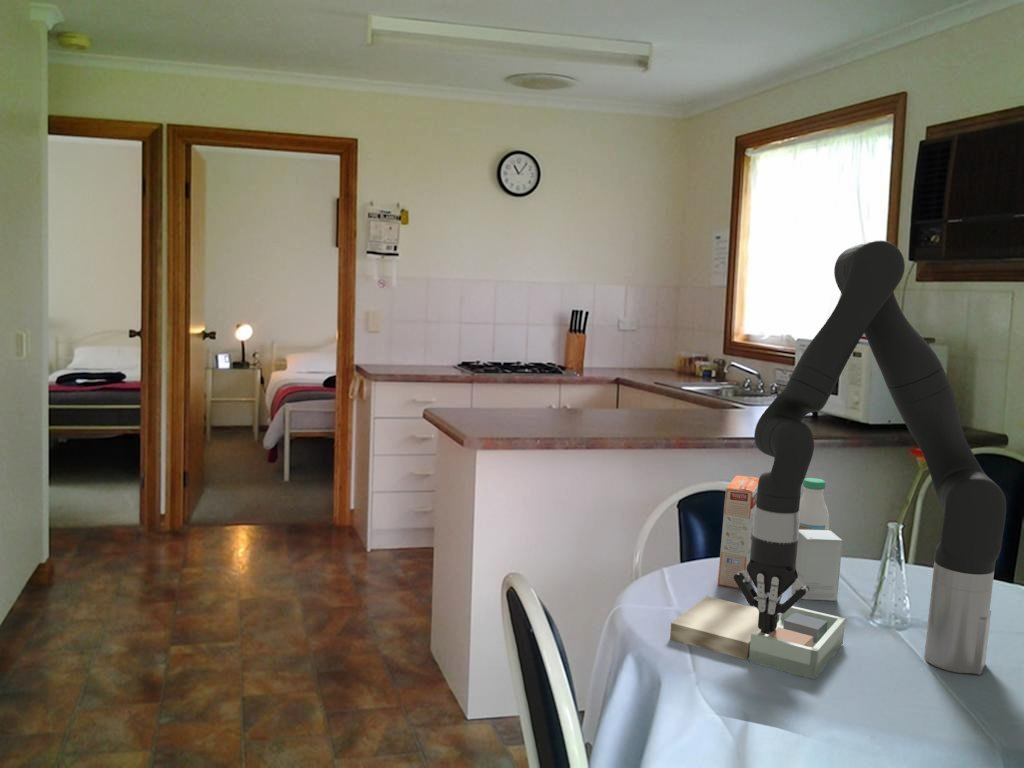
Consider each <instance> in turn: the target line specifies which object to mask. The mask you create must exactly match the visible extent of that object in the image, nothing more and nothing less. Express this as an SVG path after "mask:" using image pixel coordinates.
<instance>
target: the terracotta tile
mask: <svg viewBox="0 0 1024 768" xmlns="http://www.w3.org/2000/svg"><path fill="white" fill-rule="evenodd" d="M768 637H772V638H776V639H780V640H784V641H788V642H792V643H796V644H800V645H803V646H807V647H811V648H812V644H813V636H809V635H806V634H802V633H798V632H794V631H791V630H787V629H783V628H779V627H778V628H777V629H776V630H775V631H773V632H772V633H771V634H770V635H769V636H768Z"/></svg>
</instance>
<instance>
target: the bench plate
mask: <svg viewBox="0 0 1024 768" xmlns="http://www.w3.org/2000/svg"><path fill="white" fill-rule="evenodd" d="M780 614H781V613H778V619H777V623H778V622H779V621H780ZM758 619H759V610H758V609H757V608H756V607H755V606H750V605H746V604H742V603H738V602H733V601H729V600H725V599H720V598H716V597H712V596H708V595H707V596H705V597H704V598H703V599H701V600H700V601H699V602H697V603H696V604H695V605H693V606H691V608H689V609H688V610H686V611H685V612H684V613H682V614H681V615H680V616H679V617H677V618H676V619H674V620H673V621H672V622H670V635H669V639H670V640H671V639H672V640H673V641H676V642H680V643H683V644H687V645H691V646H694V647H698V648H700V649H705V650H709V651H712V652H713V651H714V652H715V653H720V654H723V655H726V656H727V655H728V656H730V655H731V657H734V658H739V659H742V660H745V661H748V660H749V653H750V640H751V634H752V633H756V634H760V635H765V634H764V633H761V629H759V628H758ZM672 640H671V641H672Z"/></svg>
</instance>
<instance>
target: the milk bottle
mask: <svg viewBox="0 0 1024 768" xmlns="http://www.w3.org/2000/svg"><path fill="white" fill-rule="evenodd" d="M825 488H826V481H825V480H824V479H820V478H817V477H816V478H814V477H805V479H804V481H803V483H802V489H803V493H802V496H801V497H800V507H799V530H830V515H829V511H828V507H827V504H826V501H825V496H824V492H825V491H826V490H825Z"/></svg>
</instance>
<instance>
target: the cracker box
mask: <svg viewBox="0 0 1024 768" xmlns="http://www.w3.org/2000/svg"><path fill="white" fill-rule="evenodd" d="M759 478H760V477H756V476H755V477H754V476H747V475H738V474H737V475H735V476H734V478H733V479H732V480H731V481H730V483H729V484H728V485H727V487H726V488H725V495H724V506H723V518H722V529H721V530H722V532H721V539H720V540H721V541H720V542H721V543H720V550H719V551H720V553H719V562H718V563H719V567H718V575H717V585H718V586H724V587H729V588H734V589H739V590H740V588H739V587H738V585H737V583H736V582H735V580H734V575H735V574H736V573H738V572H739V571H743V570H745V569H746V567H747V565H748V563H749V562H750V553H751V541H752V525H753V518H754V514H755V509H756V501H757V488H758V481H759Z"/></svg>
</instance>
